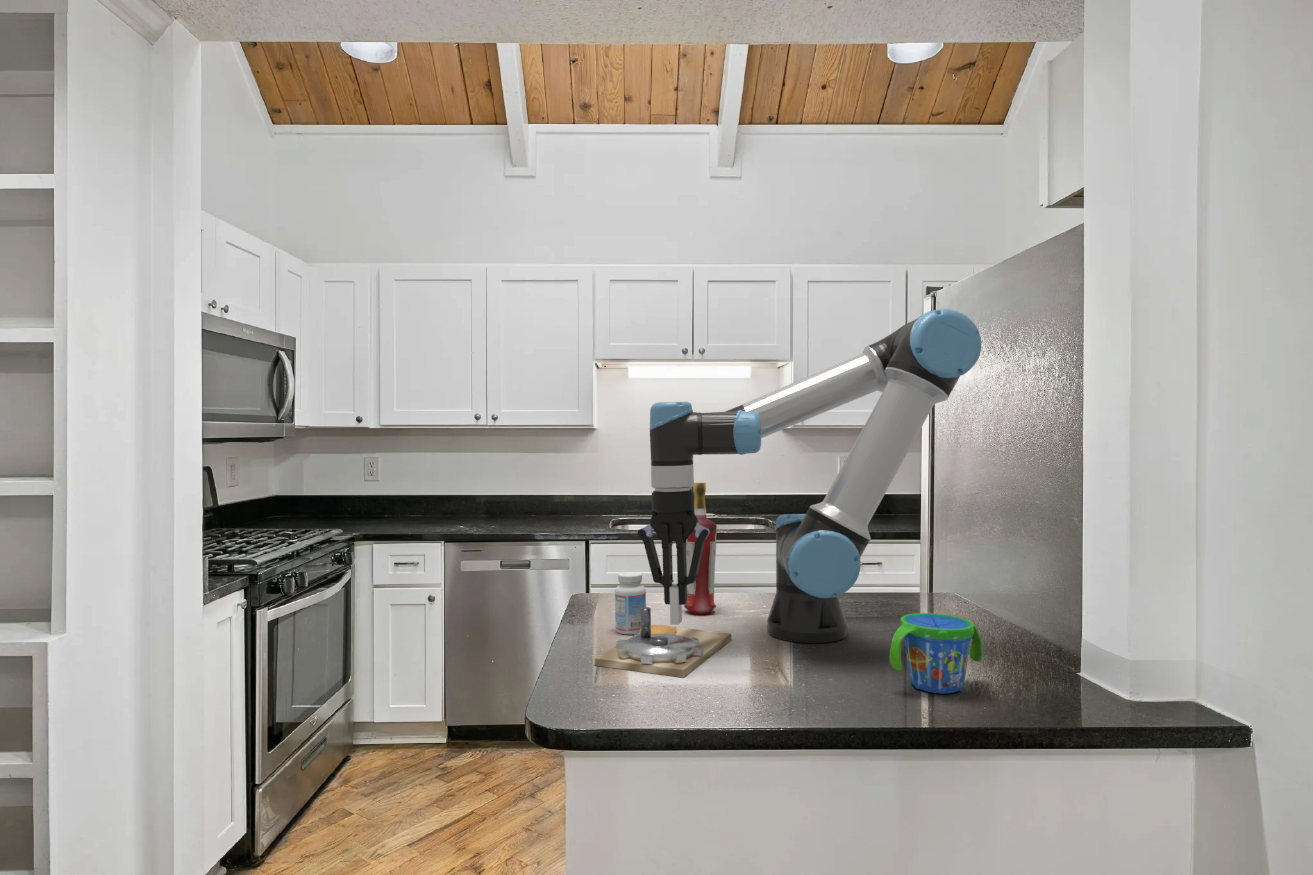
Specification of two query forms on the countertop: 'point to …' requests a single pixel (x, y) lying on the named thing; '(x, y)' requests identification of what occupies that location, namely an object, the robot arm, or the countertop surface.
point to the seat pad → (662, 629)
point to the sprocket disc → (657, 645)
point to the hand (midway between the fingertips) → (676, 622)
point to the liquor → (702, 559)
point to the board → (706, 639)
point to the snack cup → (936, 650)
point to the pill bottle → (629, 603)
